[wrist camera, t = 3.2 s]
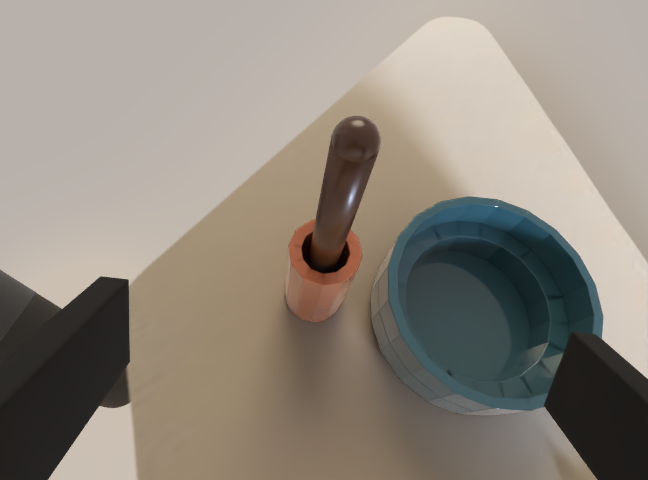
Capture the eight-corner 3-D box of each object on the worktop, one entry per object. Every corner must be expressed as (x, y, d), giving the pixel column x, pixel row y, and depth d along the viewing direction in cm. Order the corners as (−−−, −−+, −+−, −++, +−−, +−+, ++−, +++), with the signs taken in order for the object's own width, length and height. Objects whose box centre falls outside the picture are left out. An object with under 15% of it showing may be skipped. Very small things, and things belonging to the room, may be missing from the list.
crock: (276, 309, 34) (277, 268, 26) (298, 260, 36) (305, 208, 28) (329, 330, 34) (347, 296, 26) (348, 280, 36) (370, 233, 28)
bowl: (343, 369, 32) (358, 353, 27) (398, 210, 39) (420, 169, 33) (535, 448, 32) (594, 449, 26) (557, 271, 38) (609, 240, 32)
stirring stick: (298, 298, 34) (326, 134, 16) (307, 276, 35) (344, 98, 17) (321, 307, 34) (377, 153, 16) (330, 285, 34) (392, 115, 17)
